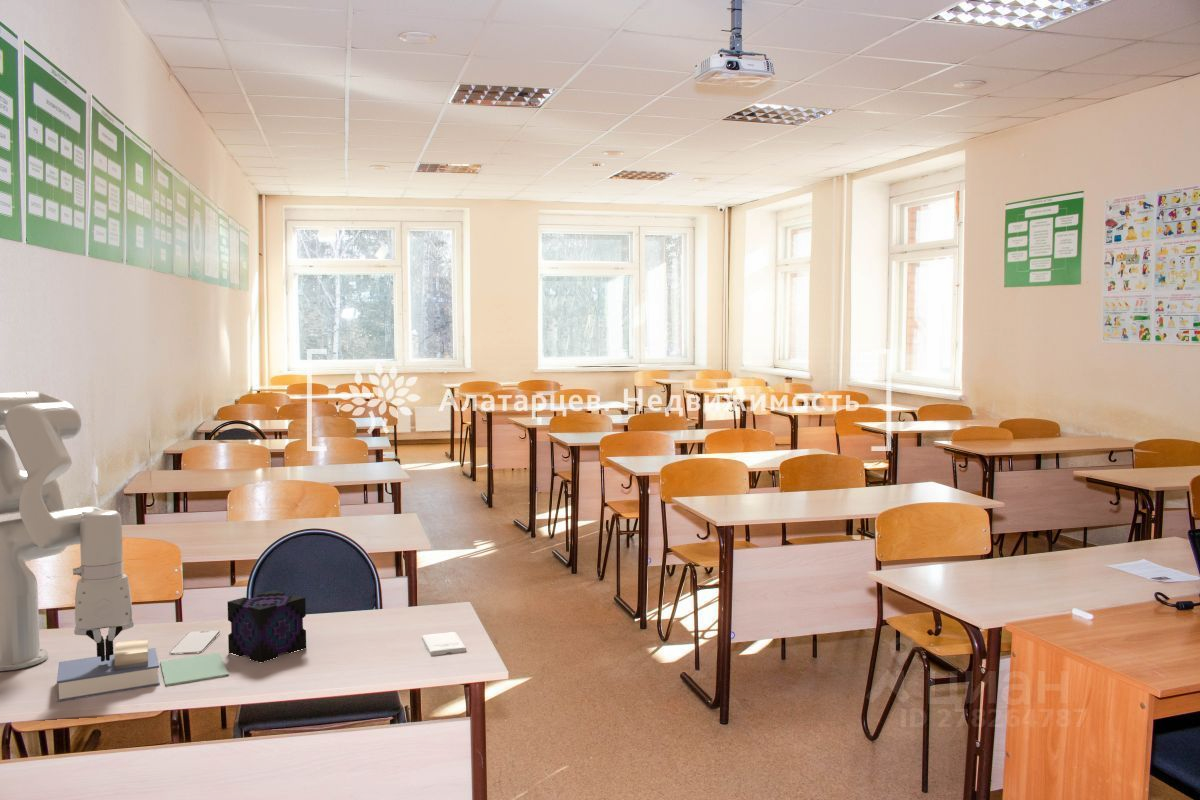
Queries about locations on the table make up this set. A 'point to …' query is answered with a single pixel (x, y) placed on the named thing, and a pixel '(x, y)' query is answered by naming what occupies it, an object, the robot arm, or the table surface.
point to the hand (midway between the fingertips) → (105, 659)
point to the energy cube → (266, 625)
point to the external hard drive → (443, 643)
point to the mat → (193, 669)
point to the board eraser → (131, 654)
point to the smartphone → (195, 642)
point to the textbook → (103, 677)
